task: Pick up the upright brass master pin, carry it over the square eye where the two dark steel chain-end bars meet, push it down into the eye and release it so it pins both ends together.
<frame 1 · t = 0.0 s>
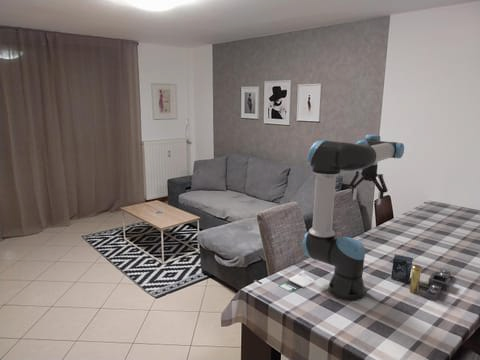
hand: (366, 201, 190), 28 cm above the table, fingers open, 13 cm apart
chain ends: (438, 285, 158), on the table
master pin: (413, 292, 152), on the table
box: (400, 278, 164), on the table
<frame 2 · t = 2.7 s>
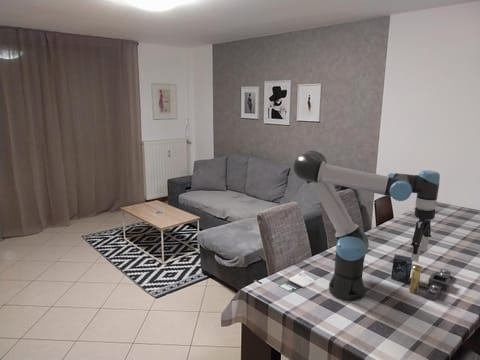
hand: (419, 255, 148), 17 cm above the table, fingers open, 13 cm apart
nothing on the table moved.
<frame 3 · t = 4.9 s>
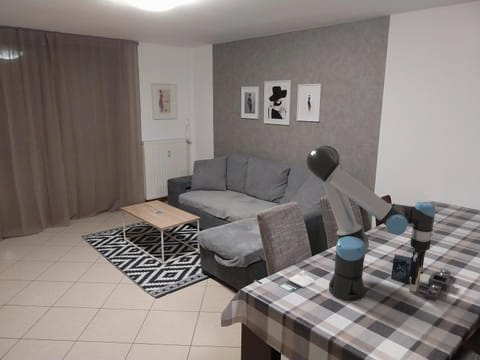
hand: (413, 288, 152), 2 cm above the table, fingers closed on master pin, 3 cm apart
master pin: (413, 291, 152), on the table, touching gripper
everything else where it was.
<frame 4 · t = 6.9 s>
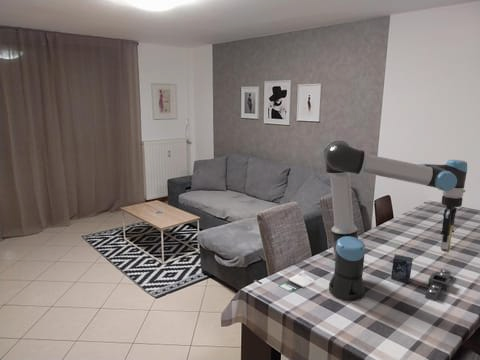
hand: (445, 247, 154), 19 cm above the table, fingers closed on master pin, 3 cm apart
master pin: (445, 250, 154), point 17 cm above the table, touching gripper
everything else where it was.
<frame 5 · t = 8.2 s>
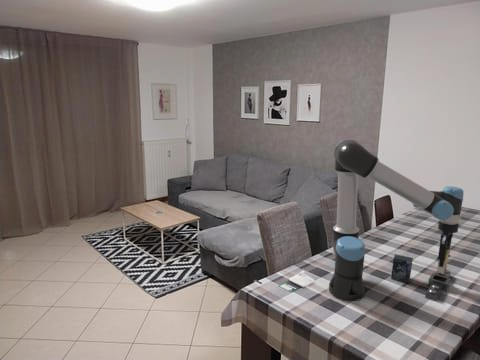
hand: (441, 271, 156), 7 cm above the table, fingers closed on master pin, 3 cm apart
master pin: (441, 274, 157), point 6 cm above the table, touching gripper
everything else where it was.
when the fingers open (4 cm above the table, at t = 8.9 s): master pin drops 3 cm, resting in chain ends.
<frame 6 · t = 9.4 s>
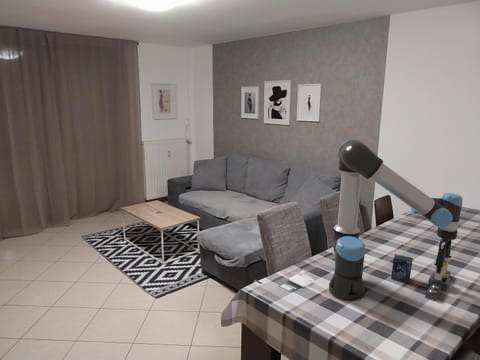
hand: (440, 274, 157), 5 cm above the table, fingers open, 10 cm apart
master pin: (439, 285, 158), resting in chain ends
everything else where it was.
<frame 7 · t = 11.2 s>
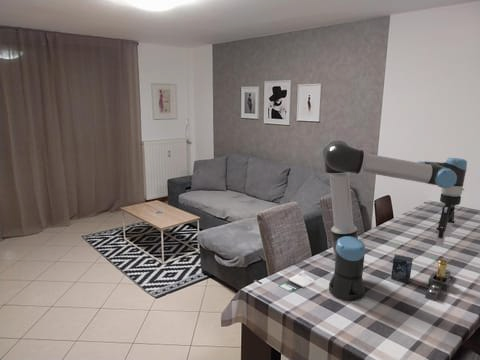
hand: (443, 240, 153), 22 cm above the table, fingers open, 13 cm apart
nothing on the table moved.
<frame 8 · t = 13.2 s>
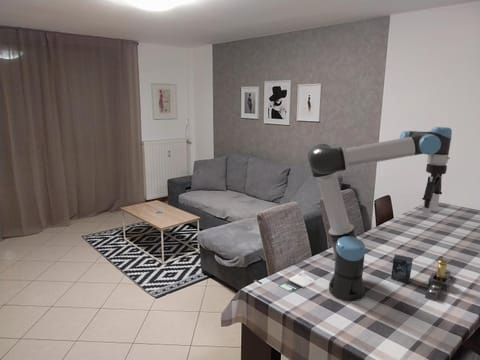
hand: (430, 211, 152), 35 cm above the table, fingers open, 13 cm apart
nothing on the table moved.
at the end: master pin 0.1 cm off-centre on the chain ends, point 0.0 cm above the chain ends's base; master pin tilted 1°; the gripper is holding nothing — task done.
